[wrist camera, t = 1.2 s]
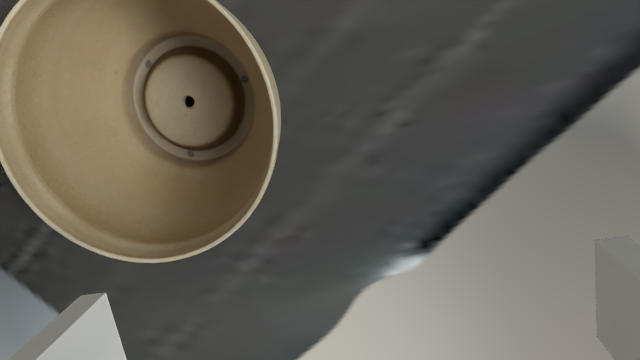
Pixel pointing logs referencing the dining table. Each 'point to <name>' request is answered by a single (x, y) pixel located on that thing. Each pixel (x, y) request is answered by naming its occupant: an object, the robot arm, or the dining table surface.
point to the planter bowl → (136, 122)
